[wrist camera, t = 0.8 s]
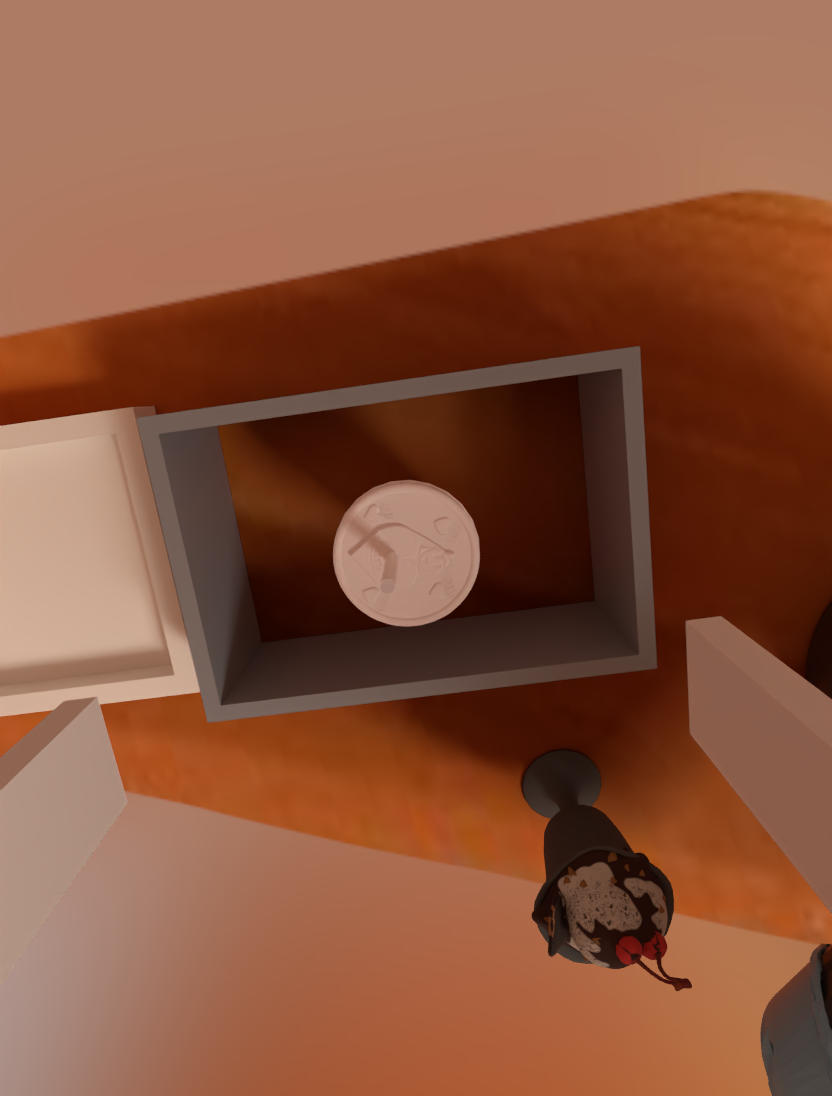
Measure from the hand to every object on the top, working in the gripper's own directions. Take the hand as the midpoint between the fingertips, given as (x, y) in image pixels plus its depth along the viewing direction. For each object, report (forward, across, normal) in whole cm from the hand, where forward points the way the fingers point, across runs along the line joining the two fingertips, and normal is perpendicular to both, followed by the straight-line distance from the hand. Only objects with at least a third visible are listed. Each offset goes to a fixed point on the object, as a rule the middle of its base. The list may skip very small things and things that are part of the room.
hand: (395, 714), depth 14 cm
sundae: (+23, -7, +18) cm, 30 cm away
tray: (+23, +21, 0) cm, 31 cm away
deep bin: (+23, 0, 0) cm, 23 cm away
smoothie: (+23, 0, 0) cm, 23 cm away
